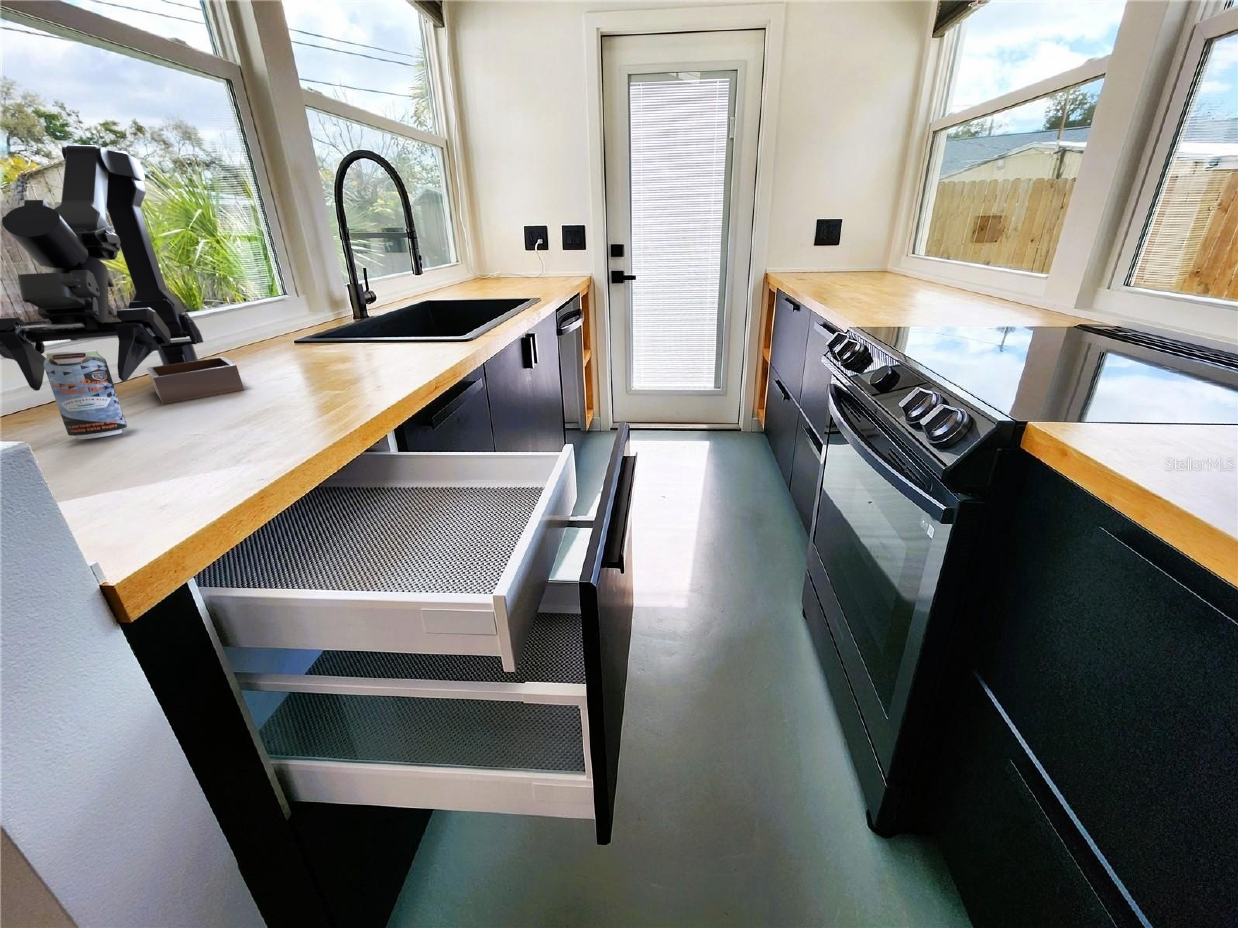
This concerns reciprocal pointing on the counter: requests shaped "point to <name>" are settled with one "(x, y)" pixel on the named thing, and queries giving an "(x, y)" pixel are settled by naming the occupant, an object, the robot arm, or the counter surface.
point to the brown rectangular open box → (195, 379)
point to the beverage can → (85, 394)
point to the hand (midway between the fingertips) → (79, 384)
